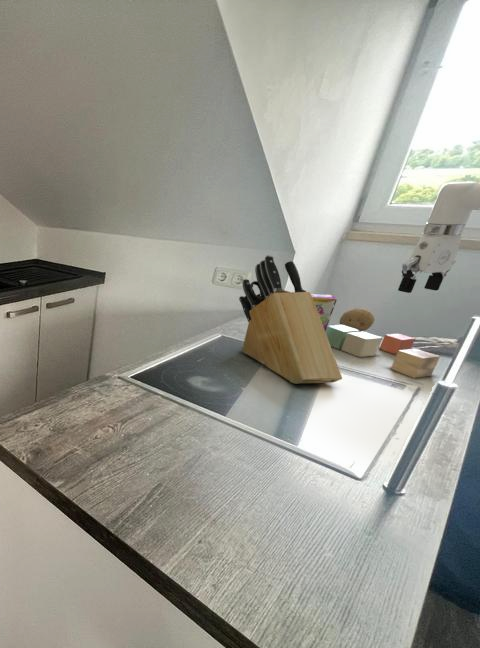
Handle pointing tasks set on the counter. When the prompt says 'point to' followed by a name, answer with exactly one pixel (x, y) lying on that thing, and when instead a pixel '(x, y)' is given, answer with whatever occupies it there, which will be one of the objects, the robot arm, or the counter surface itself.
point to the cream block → (361, 344)
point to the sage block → (338, 334)
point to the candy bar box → (324, 307)
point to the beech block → (415, 363)
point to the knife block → (286, 328)
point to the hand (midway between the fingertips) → (417, 290)
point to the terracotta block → (396, 343)
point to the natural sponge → (357, 319)
